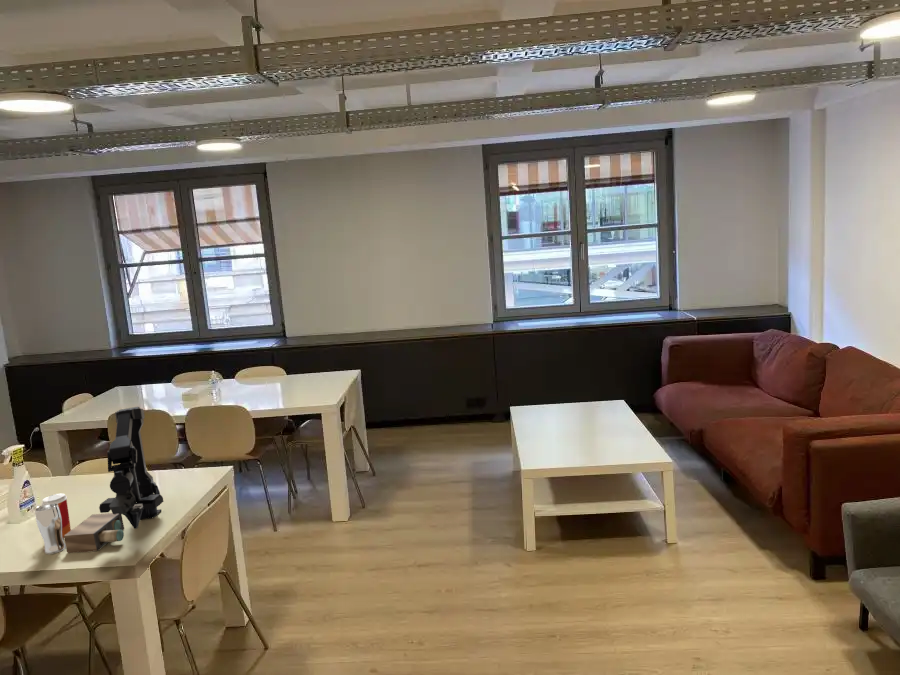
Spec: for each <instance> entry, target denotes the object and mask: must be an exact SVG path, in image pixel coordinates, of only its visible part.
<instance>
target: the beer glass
mask: <svg viewBox="0 0 900 675" xmlns="http://www.w3.org/2000/svg"><path fill="white" fill-rule="evenodd" d="M34 514H35V522H36V524H37V529H38V532H39V533H40V536H41V538H42V539H43V542H44V543H43V544H44V554H45V555H53V554H58V553H60V552H63V551H64V550H65V549H66V544H65V540H64V538H63V537H62V518H61V513H60V510H59V507H58V504H57V503H49V504H45V505H42V504H41V505H39V506H37V507H36V508H34Z"/></svg>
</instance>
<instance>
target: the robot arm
mask: <svg viewBox="0 0 900 675" xmlns="http://www.w3.org/2000/svg"><path fill="white" fill-rule="evenodd" d="M114 415H115V416H114V417H115V422H116V428H115V429H116V430H115V438H114V440H113V441H111V443H110V445H109V449H108V450H107V471H108V473H110V472H113V476H112V479H111V480H110V482H109V488H110V490H111V491H112V492H113V493H115V497H107V498H106V499H105V500H104V501H102V502H101V503H100V504H99V507H98V508H99V514H105V513H110V512H111V513H113V514H121V515H122V516H125V518H126V519H127V520H128V521H129V523H130V525H131V526H132V528H133V529H134V530H135V529H138V528H139V524H140V521H141V520H145V519H147V520H148V519H154V518H155V517H156V516H157V515H159V513H161V512H162V509H158V507H159V506H161V504H163V503H164V498H163V495H162V494H161V492H160V488H159V487H158V485H157V483H156V482H155V481H154V477H153V475H151V474H150V472H148V470H147V464H146V458H145V452H144V446H143V440H142V434H141V433H142V432H141V430H142V427H143V425H144V424H145V421H144V419H145V411H144V409H143V408H140V406H134V407H128V408H127V407H126V408H121V409H119V410H116V411H115V413H114Z"/></svg>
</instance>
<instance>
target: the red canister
mask: <svg viewBox="0 0 900 675" xmlns="http://www.w3.org/2000/svg"><path fill="white" fill-rule="evenodd" d="M67 499H68V496H67V495H66V494H65V493H63V492H62V493H61V492H60V493H54V494H51V495H49V496H46V497H44V498H42V501H41V506H42V505H45V504H49V503H57V504H58V507H59V510H60V513H61V518H62V537H63V539H64V535H65V534H67V533H68V532H69V531H71V530H72V529H71V522H70V521H71V520H70V515H69V509H68V508H69V507H68V500H67Z"/></svg>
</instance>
